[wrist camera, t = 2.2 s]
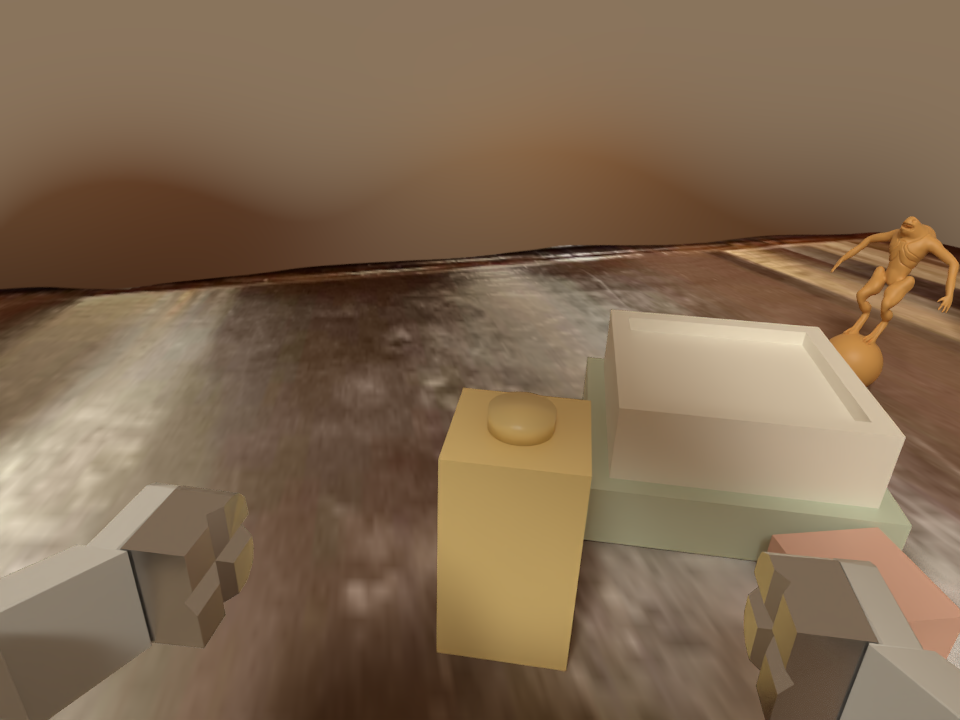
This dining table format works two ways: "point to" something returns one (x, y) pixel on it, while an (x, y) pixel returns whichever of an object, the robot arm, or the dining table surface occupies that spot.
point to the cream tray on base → (732, 437)
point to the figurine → (890, 291)
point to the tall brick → (512, 526)
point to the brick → (885, 578)
